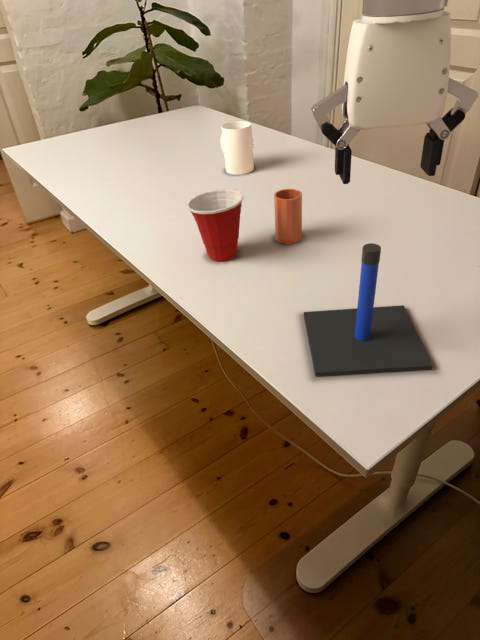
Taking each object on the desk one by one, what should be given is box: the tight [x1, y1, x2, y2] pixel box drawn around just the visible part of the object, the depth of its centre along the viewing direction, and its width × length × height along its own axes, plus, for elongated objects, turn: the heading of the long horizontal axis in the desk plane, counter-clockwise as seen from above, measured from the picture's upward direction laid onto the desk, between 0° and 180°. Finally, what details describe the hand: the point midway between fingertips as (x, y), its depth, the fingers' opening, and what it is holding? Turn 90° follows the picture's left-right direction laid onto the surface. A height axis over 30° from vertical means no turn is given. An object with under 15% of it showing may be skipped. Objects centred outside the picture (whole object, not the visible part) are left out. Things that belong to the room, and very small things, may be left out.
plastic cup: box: [186, 188, 245, 262], centre depth 89 cm, size 11×11×12 cm
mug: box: [219, 120, 255, 176], centre depth 128 cm, size 8×12×12 cm
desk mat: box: [303, 305, 434, 377], centre depth 69 cm, size 16×14×1 cm
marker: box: [355, 242, 382, 341], centre depth 64 cm, size 2×2×15 cm
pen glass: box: [273, 188, 303, 245], centre depth 94 cm, size 5×5×10 cm
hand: (385, 175), depth 54 cm, fingers open, 9 cm apart
